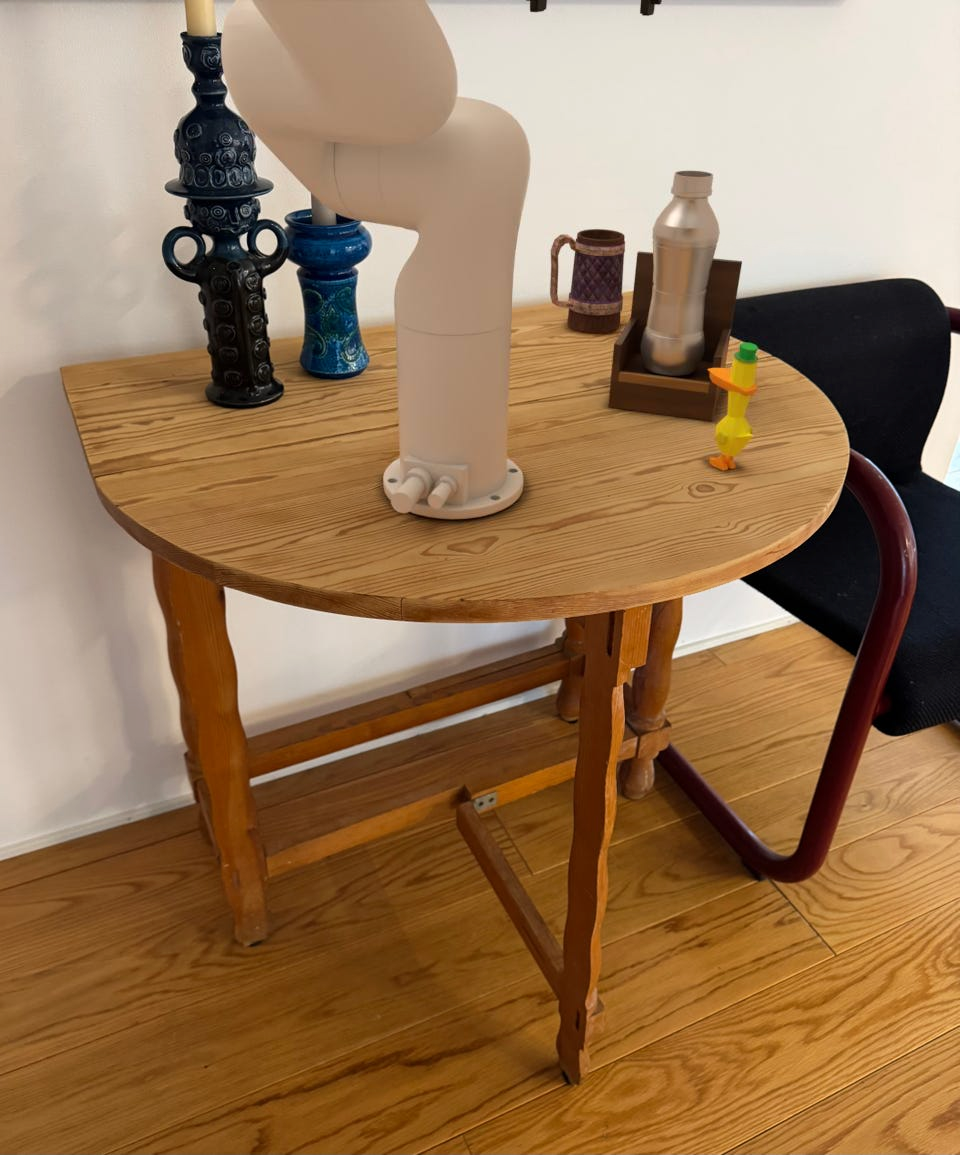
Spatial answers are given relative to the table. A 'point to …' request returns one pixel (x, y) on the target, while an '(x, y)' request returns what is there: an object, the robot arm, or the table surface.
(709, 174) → the silver water bottle
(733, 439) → the toy figure
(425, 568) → the table surface
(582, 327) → the mug
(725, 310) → the wooden chair
